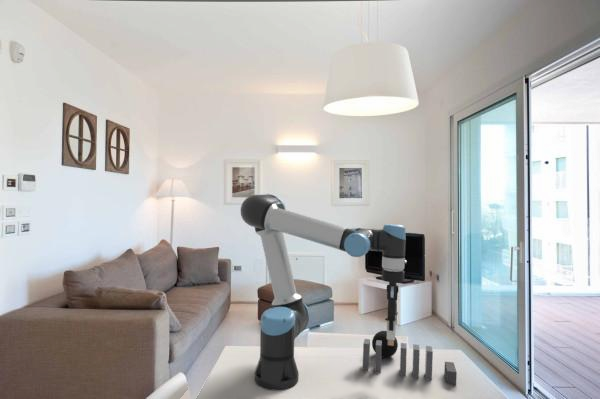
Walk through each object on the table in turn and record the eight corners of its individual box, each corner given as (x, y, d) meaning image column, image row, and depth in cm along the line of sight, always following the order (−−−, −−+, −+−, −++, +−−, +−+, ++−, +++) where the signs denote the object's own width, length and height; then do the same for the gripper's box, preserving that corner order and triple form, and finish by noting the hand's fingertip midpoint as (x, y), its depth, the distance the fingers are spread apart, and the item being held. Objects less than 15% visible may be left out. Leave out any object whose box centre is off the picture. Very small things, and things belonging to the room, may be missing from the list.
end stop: (446, 384, 135) (447, 371, 135) (444, 373, 143) (444, 361, 143) (456, 385, 135) (456, 372, 135) (453, 374, 142) (453, 362, 142)
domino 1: (362, 370, 144) (363, 343, 144) (363, 365, 149) (364, 338, 149) (368, 371, 143) (368, 344, 143) (369, 365, 148) (370, 339, 148)
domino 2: (374, 372, 143) (375, 345, 143) (375, 366, 148) (376, 340, 147) (380, 373, 142) (381, 345, 142) (381, 367, 147) (381, 340, 147)
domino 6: (425, 379, 138) (426, 351, 138) (425, 373, 143) (425, 345, 143) (431, 380, 138) (432, 351, 138) (430, 373, 143) (431, 346, 143)
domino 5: (412, 377, 140) (413, 349, 139) (412, 371, 144) (413, 344, 144) (418, 378, 139) (419, 350, 139) (418, 372, 144) (418, 344, 144)
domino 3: (387, 345, 134) (388, 315, 134) (388, 339, 139) (389, 311, 139) (393, 345, 134) (394, 316, 134) (393, 340, 139) (394, 312, 138)
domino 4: (400, 375, 141) (400, 348, 140) (400, 369, 146) (400, 342, 145) (405, 376, 140) (406, 348, 140) (405, 370, 145) (406, 343, 145)
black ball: (400, 354, 159) (401, 330, 159) (393, 364, 150) (393, 338, 150) (376, 349, 164) (377, 325, 164) (368, 357, 155) (368, 332, 155)
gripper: (404, 275, 126) (402, 347, 127) (404, 265, 144) (402, 328, 144) (380, 273, 128) (378, 344, 129) (383, 263, 146) (381, 326, 146)
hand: (390, 336), depth 136 cm, fingers closed on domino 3, 5 cm apart
